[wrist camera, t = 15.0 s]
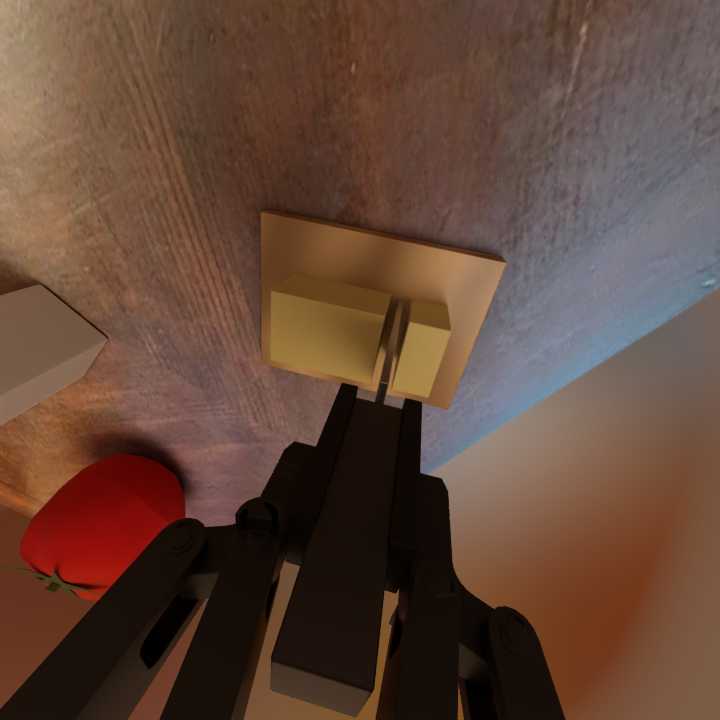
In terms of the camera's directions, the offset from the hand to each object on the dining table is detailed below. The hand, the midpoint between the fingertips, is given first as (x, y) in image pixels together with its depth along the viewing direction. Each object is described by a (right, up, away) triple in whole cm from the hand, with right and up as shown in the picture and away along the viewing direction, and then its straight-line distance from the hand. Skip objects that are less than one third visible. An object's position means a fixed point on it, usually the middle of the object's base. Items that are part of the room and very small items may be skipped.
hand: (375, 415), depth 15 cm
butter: (-2, +6, +9) cm, 11 cm away
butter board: (0, +6, +10) cm, 12 cm away
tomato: (-27, -13, +27) cm, 40 cm away
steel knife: (+2, +5, +8) cm, 10 cm away
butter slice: (+4, +4, +8) cm, 10 cm away
